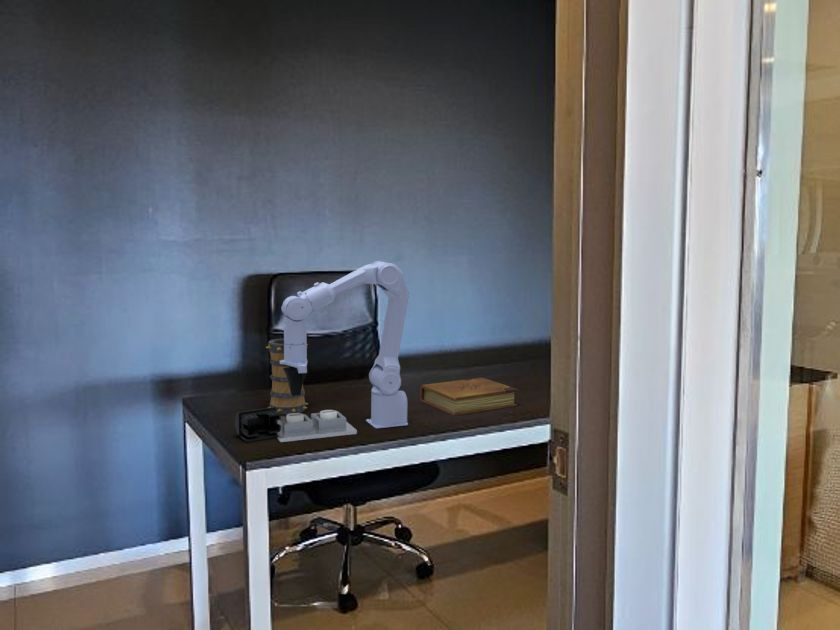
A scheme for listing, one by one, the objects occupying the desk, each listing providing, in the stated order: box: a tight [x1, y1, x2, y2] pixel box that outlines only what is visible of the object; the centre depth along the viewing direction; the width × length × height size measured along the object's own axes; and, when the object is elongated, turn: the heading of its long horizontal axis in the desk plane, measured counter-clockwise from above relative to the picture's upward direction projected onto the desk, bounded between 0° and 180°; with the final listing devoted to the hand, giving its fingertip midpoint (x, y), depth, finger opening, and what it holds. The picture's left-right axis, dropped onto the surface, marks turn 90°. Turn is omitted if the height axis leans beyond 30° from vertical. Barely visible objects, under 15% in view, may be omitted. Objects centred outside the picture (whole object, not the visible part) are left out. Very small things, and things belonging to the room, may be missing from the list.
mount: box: [275, 410, 358, 443], centre depth 193 cm, size 20×14×4 cm
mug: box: [265, 337, 309, 415], centre depth 214 cm, size 13×17×20 cm
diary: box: [419, 377, 519, 416], centre depth 224 cm, size 23×19×6 cm
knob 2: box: [319, 409, 338, 419], centre depth 195 cm, size 4×4×4 cm
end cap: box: [234, 406, 282, 443], centre depth 187 cm, size 10×7×7 cm
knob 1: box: [285, 412, 304, 423], centre depth 191 cm, size 4×4×4 cm
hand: (295, 395), depth 191 cm, fingers closed
